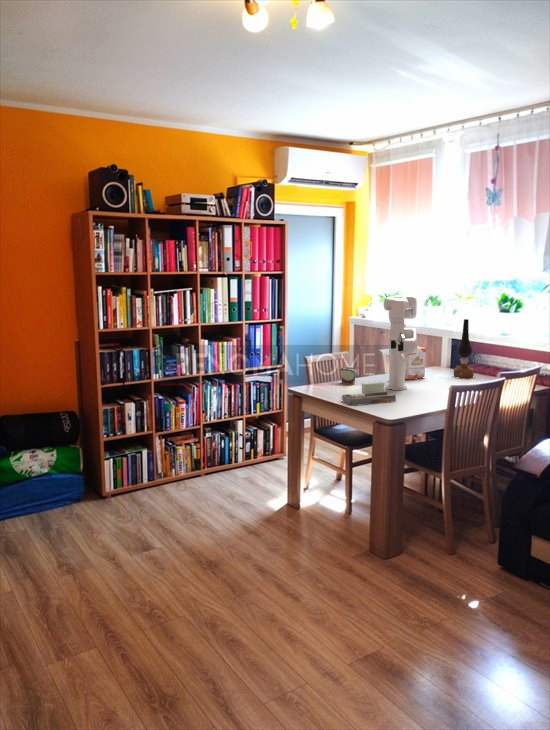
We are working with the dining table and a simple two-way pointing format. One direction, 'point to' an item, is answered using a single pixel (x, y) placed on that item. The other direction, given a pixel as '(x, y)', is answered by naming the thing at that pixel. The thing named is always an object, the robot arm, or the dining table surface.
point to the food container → (348, 375)
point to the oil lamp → (464, 354)
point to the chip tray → (356, 400)
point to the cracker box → (415, 364)
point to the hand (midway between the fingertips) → (396, 349)
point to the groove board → (380, 397)
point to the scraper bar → (372, 387)
